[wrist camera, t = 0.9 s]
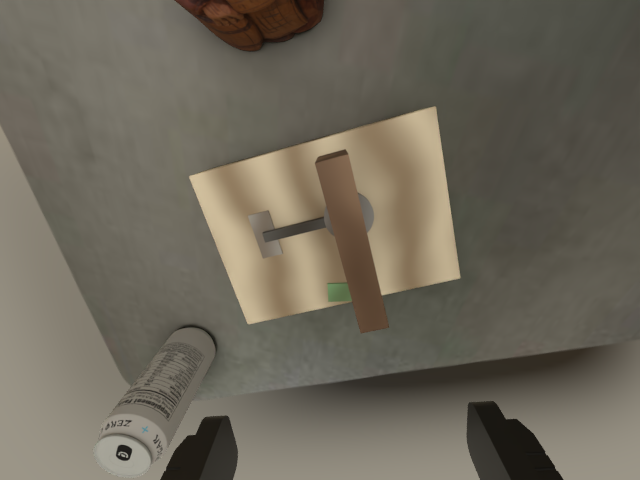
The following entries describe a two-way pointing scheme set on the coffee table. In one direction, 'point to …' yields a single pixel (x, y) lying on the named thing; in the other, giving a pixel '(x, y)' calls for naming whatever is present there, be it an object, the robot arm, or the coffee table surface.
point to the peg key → (346, 236)
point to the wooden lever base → (308, 203)
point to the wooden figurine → (255, 19)
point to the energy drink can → (154, 405)
